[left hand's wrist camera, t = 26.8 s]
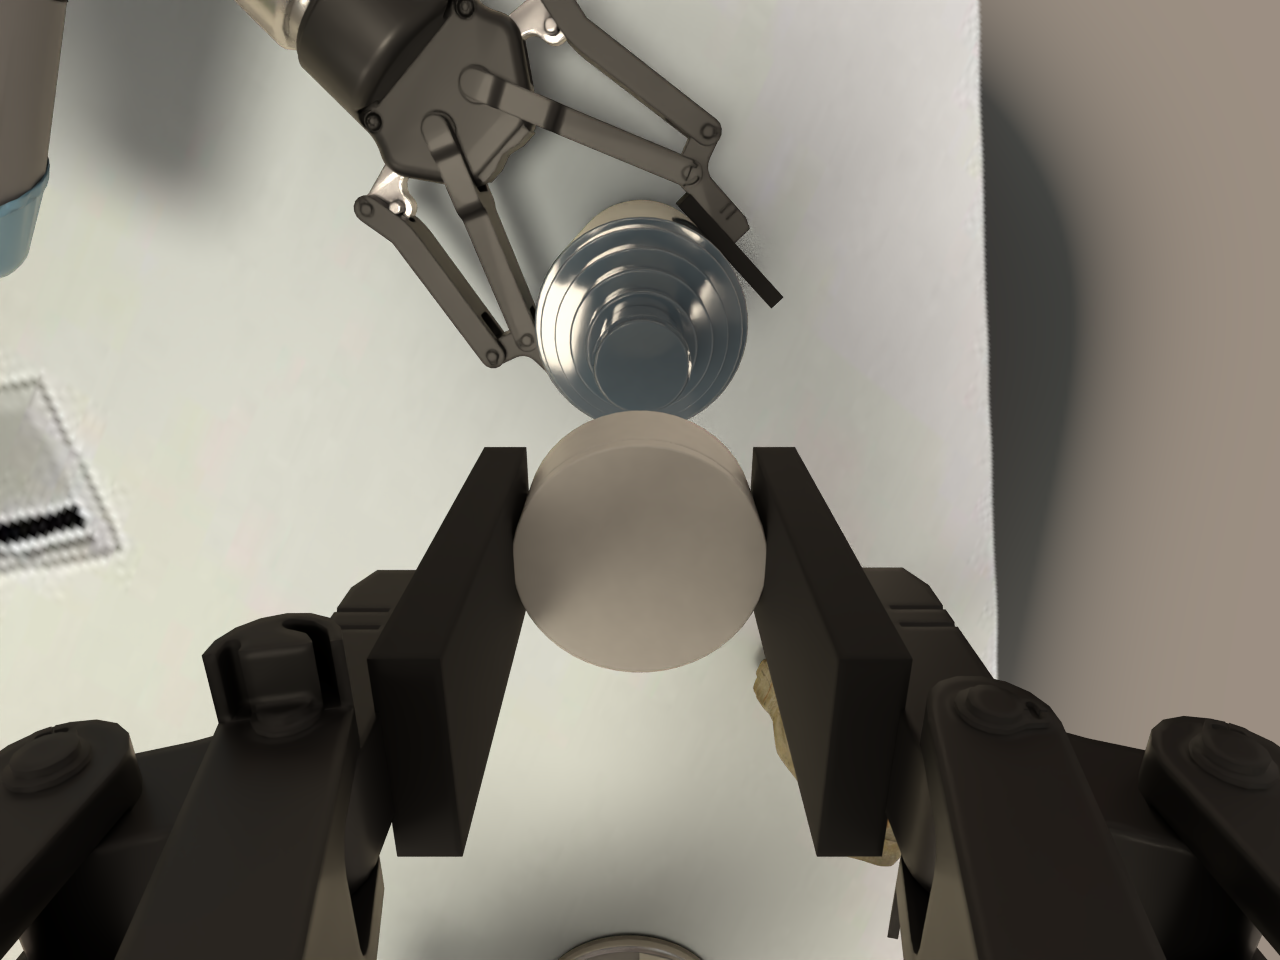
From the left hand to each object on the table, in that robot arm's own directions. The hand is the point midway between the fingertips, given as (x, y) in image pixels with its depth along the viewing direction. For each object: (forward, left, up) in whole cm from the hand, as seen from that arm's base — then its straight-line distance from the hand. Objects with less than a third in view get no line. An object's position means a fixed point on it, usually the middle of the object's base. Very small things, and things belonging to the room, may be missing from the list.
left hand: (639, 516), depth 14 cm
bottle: (0, 0, -32) cm, 32 cm away
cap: (0, 0, +2) cm, 2 cm away
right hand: (-4, -3, -26) cm, 26 cm away
